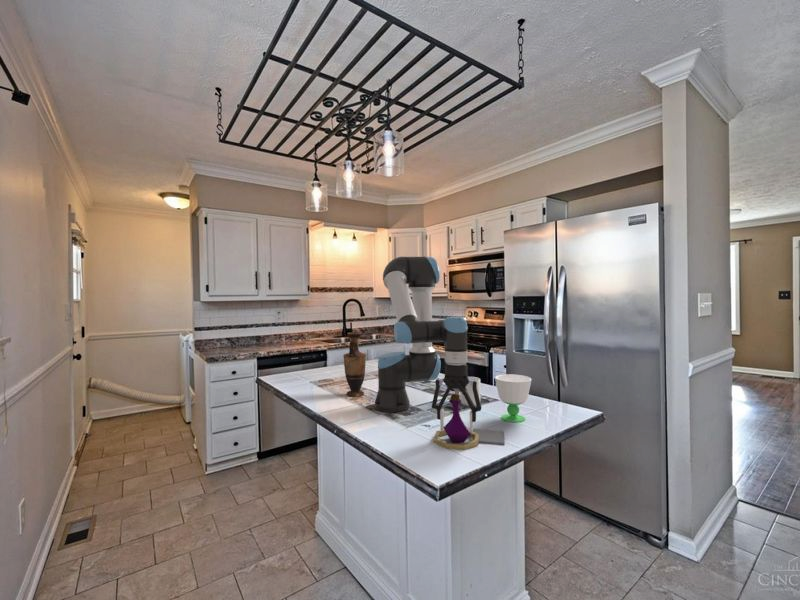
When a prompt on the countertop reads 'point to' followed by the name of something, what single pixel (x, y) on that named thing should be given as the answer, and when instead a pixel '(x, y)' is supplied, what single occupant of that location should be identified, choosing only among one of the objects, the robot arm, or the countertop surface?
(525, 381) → the cup
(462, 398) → the mug
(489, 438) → the slate coaster
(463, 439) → the perfume bottle
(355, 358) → the vase
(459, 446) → the wooden octagonal frame
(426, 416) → the countertop surface
